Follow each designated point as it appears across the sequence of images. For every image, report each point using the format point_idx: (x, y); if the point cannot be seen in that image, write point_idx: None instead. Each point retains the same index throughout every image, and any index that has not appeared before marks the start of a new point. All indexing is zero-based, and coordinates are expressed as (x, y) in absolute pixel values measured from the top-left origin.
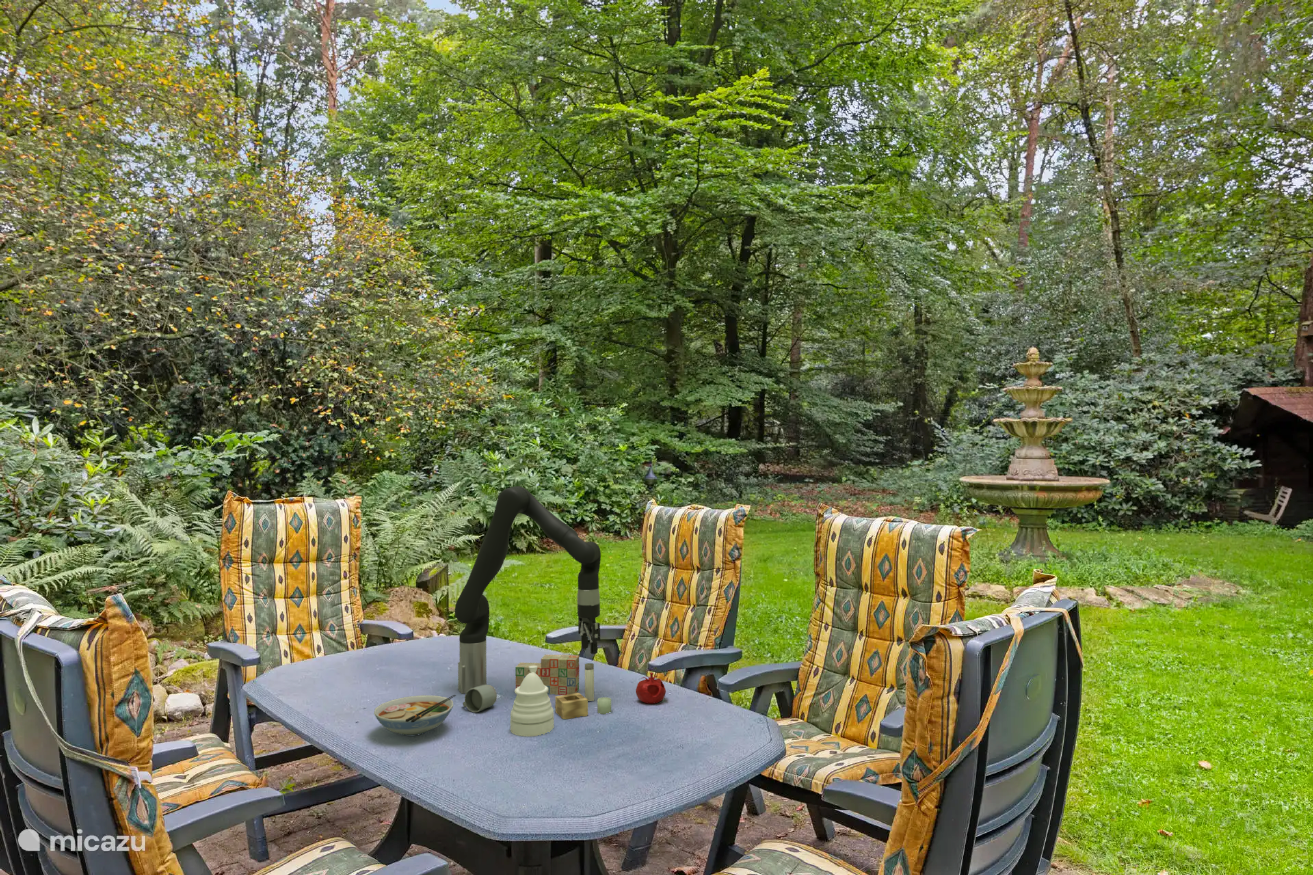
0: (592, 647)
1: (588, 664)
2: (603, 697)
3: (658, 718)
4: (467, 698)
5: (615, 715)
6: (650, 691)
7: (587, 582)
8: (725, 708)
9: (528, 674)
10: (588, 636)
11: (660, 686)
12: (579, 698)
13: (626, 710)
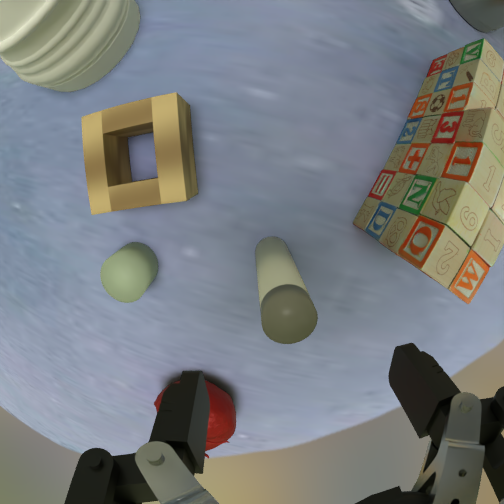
0: (170, 413)
1: (288, 316)
2: (143, 283)
3: (73, 358)
4: None
5: (101, 282)
6: None
7: None
8: (122, 453)
9: None
10: (198, 490)
11: None
12: (113, 186)
13: (134, 323)
